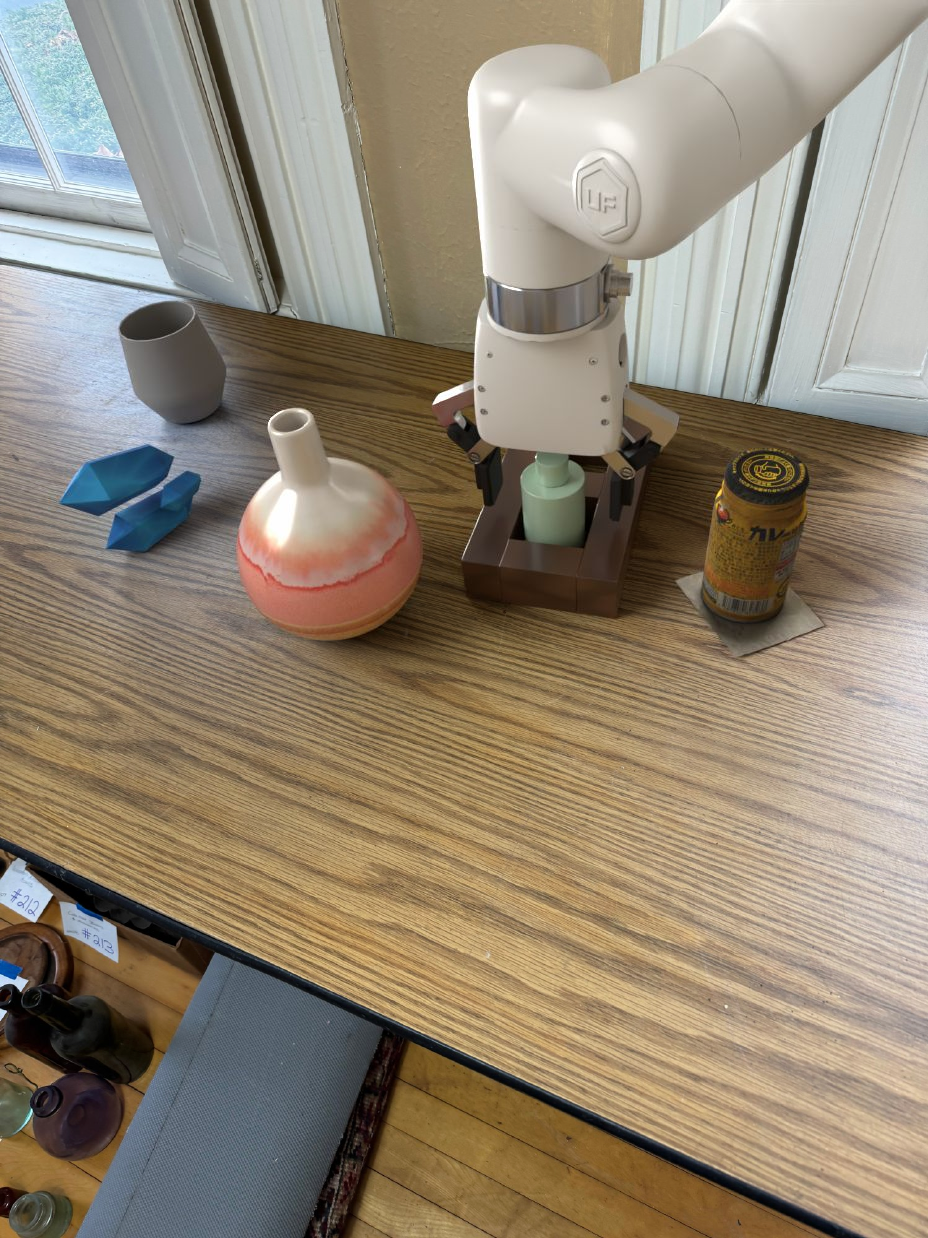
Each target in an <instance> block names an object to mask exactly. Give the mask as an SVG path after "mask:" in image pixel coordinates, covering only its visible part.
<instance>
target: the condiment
mask: <svg viewBox="0 0 928 1238" xmlns="http://www.w3.org/2000/svg"><path fill="white" fill-rule="evenodd" d="M809 486H810V475H809V471H808V467H807V466H806V465H805V463H804V462H803V461H802V460H801V459H800V458H798V457H797V456H796V455H794V454H793V453H790V452H788V451H786V450H782V449H779V448H774V447H755V448H750V449H747V450H745V451H741V452H738V453H737V454H736V455H735V456H733V457H732V458H731V459H730V461H729V462H728V464H727V465H726V467H725V470H724V476H723V481H722V484H721V488H720V490H719V491H718V492H717V494H716V497H715V498H714V503H713V508H712V513H711V514H712V517H711V522H710V528H709V535H708V540H707V541H708V542H707V549H706V554H705V561H704V567H703V571H700V572H696V573H693V574H689V575H686V576H683V577H681V578H678V579H676V580H674V581H675V583H676V584H677V585H678V587H679V588H680V590H681V591H682V592H683V594H684V595H685V596H686V598H688V600H689V601H690V602H691V604H692V605H693V607H694V608H695V609H696V610H697V611H698V613H699V614H700V615H701V616H702V617H703V619H704V620H705V622H707V623H708V624H709V626H710V627H711V628H712V630H713V631H714V632H715V634H716V635H717V637H718V638H719V639H720V640H721V642H722V643H723V644H724V645H725V646H726V647H727V648H728V649H729V651H730V652H731V654H732V655H733V656H734V657H735V658H739V657H742V656H744V655H748V654H751V653H754V652H757V651H760V650H763V649H766V648H769V647H772V646H774V645H777V644H779V643H782V642H785V641H786V642H788V641H790V640H791V639H793V638H796V637H799V636H801V635H804V634H807V633H809V632H810V633H811V632H812V631H813V630H816V629H819V628H821V627H824V626H825V623H823V621H822V620H821V619H820V618H819V616H818V615H817V614H816V613H814V612H813V611H812V609H811V608H810V606H808V605H807V604H806V603H805V602H804V600H803V599H802V597H800V595H798V594H797V593H796V592H795V591H794V590H793V588H791V587H790V586H789V585H790V583H791V577H792V573H793V569H794V564H795V562H796V558H797V556H798V551H799V547H800V542H801V539H802V538H803V537H802V535H803V532H804V528H805V522H806V520H807V517H808V506H807V502H806V500H807V499H806V498H807V489H808V487H809Z"/></svg>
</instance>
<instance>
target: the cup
mask: <svg viewBox="0 0 928 1238" xmlns="http://www.w3.org/2000/svg"><path fill="white" fill-rule="evenodd" d="M117 331H118V336H119V339H120V345H121V348H122V351H123V355H124V359H125V363H126V367H127V371H128V375H129V379H130V383H131V386H132V391H133V393H134V395H135V396H136V398H137V399H138V400H140V402H142V403H143V404H144V405H145V406H147V408H149V409H150V410H152V411H153V412H155V414H157V415H158V416H159V417H161V418H162V419H163V420H165V421H166V422H170V423H174V424H190V423H194V422H198V421H201V420H203V419H205V418H207V417H209V416H210V415H212V414H213V413H214V412H216V410H217V409H218V408H219V407H220V405H221V403H222V400H223V395H224V390H225V386H226V385H225V384H226V378H227V367H226V364H225V360H224V358H223V356H222V354H221V352H220V351H219V348H218V347H217V345H216V343H215V342H214V340H213V338H212V336H211V335H210V332H209V331H208V329H207V328H206V325H205V324H204V322H203V320H202V319H201V317H200V315H199V314H198V312H197V310H196V308H195V306H193V305H192V304H190V303H189V302H187V301H181V300H163V301H156V302H153V303H150V304H147V305H143V306H141V307H139V308H137V309H135V310H133V311H131V312H130V313H128V314H126V316H125V317H124V318H122V320H120V323H119V325H118V326H117Z"/></svg>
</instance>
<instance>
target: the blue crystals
mask: <svg viewBox="0 0 928 1238" xmlns="http://www.w3.org/2000/svg"><path fill="white" fill-rule="evenodd" d="M174 459H175V456H174V455H172V454H170V453H168V452H165V451H164V450H161V449H159V448H158V447H156V446H153V445H151V444H149V443H146V444H143V445H139V446H136V447H133V448H128V449H125V450H123V451H119V452H115V453H111V454H108V455H105V456H102V457H101V456H100V457H98V458H95V459H91V460H88V461H86V462H84V464H83V465H82V466H81V467H80V468H79V470H77V472H76V473H75V474H74V476H73V477H72V478H71V481H70V482H69V484H68V486H67V488H66V489H65V492H64V493H63V495H62V497H61V499H60V500H59V502H58V505H62V506H65V507H67V508H70V509H73V510H76V511H80V512H83V513H86V514H89V515H92V516H95V517H101V516H102V515H104V514H106V513H109V512H110V511H112V510H114V509H116V508H118V507H120V506H122V505H124V504H126V503H128V502H130V501H131V500H134V499H135V498H138V497H139V496H141V495H144V494H145V493H147V492H149V491H152V490H154V489H155V488H157V486H159V485H160V484H161V483H162V482H163V481H164V480H166V478H168V476H169V473H170V471H171V467H172V466H173V462H174ZM201 484H202V477H201V474H200V473H198V472H197V473H196V472H194V471H191V470H185V471H184V472H183V473H181V474H179V475H178V476H176V477H175V478H173V479H172V480H169V482H167V483H166V484H164V485H163V486H162V489H160V490H159V491H156V492H154V493H152V494H151V495H148V496H147V497H145V498H143V499H141V500H139V501H137V502H135V503H134V504H132V505H129V506H127V507H125V508H124V509H122V510H120V511H118V512H116V513H115V514H114V516H113V520H112V524H111V527H110V531H109V535H108V538H107V543H106V546H105V550H112V551H113V550H114V551H125V552H137V553H138V552H140V553H145V552H147V551H148V550H149V549H151V548H153V546H154V545H156V544H157V543H158V542H159V541H161V540H162V539H163V538H165V537H166V536H167V535H169V534H170V533H171V532H172V531H173V530H174V529H176V528H177V527H179V526H180V525H181V524H182V523H183V522H185V521H186V520H187V519H189V517H190V514H191V510H192V504H193V499H194V496H196V494H197V493H198V492H199V490H200V486H201Z"/></svg>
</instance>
